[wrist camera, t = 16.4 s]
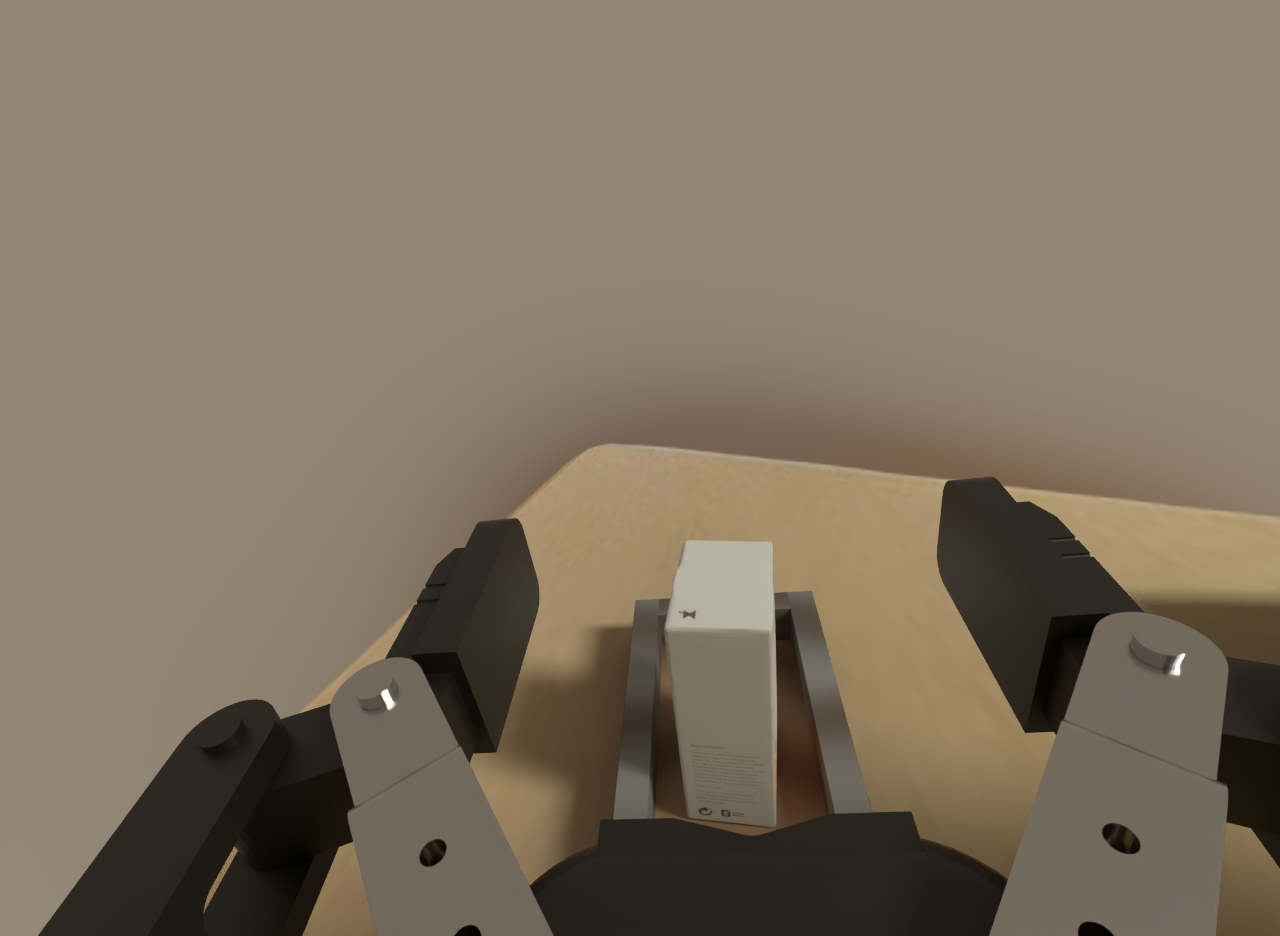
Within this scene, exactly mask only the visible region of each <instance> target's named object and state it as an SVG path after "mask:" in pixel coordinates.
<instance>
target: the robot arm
mask: <svg viewBox="0 0 1280 936" xmlns="http://www.w3.org/2000/svg"><path fill="white" fill-rule="evenodd" d="M1089 553H1090V552H1089V551H1088V550H1087V549H1086V548H1085V547H1084V546H1083V545H1082V544H1081V543H1080V542H1079V540H1075V536H1074V535H1073V534H1072V533H1071V532H1070V531H1069V530H1068V528H1067V527H1066V526H1065V525H1064V524H1063V523H1062V522H1061V521H1060V520H1059V519H1058V517H1056V516H1054V515H1053V514H1051V513H1049V512H1047V511H1045V510H1044V509H1042V508H1040V507H1038V506H1036V505H1035V504H1033V503H1031V502H1016V501H1015V500H1014V499H1013V498H1012V496H1011V495H1010V494H1009V493H1008V492H1007V491H1006V489H1005V488H1004V487H1003V486H1002V485H1001V483H1000V482H999V481H998V480H997V479H996V478H994V477H984V478H973V479H962V480H951V481H948V482H946V484H945V486H944V490H943V497H942V507H941V516H940V526H939V536H938V545H937V561H938V567H939V572H940V576H941V579H942V581H943V583H944V585H945V587H946V589H947V591H948V593H949V595H950V596H951V598H952V600H953V602H954V604H955V606H956V607H957V609H958V611H959V613H960V615H961V617H962V618H963V620H964V622H965V624H966V626H967V627H968V629H969V631H970V633H971V635H972V637H973V638H974V640H975V642H976V644H977V646H978V648H979V649H980V651H981V653H982V655H983V657H984V659H985V660H986V662H987V664H988V666H989V668H990V670H991V671H992V673H993V675H994V677H995V679H996V681H997V682H998V684H999V686H1000V688H1001V690H1002V691H1003V693H1004V695H1005V697H1006V699H1007V701H1008V702H1009V704H1010V706H1011V708H1012V710H1013V712H1014V713H1015V715H1016V717H1017V719H1018V721H1019V723H1020V724H1021V726H1022V728H1023V730H1024V732H1025V733H1033V732H1055V734H1056V738H1055V741H1054V744H1053V747H1052V750H1051V753H1050V756H1049V759H1048V762H1047V765H1046V768H1045V771H1044V774H1043V777H1042V780H1041V783H1040V786H1039V789H1038V792H1037V795H1036V798H1035V801H1034V804H1033V807H1032V810H1031V812H1030V815H1029V818H1028V821H1027V824H1026V827H1025V830H1024V833H1023V836H1022V839H1021V842H1020V845H1019V848H1018V851H1017V854H1016V857H1015V860H1014V863H1013V866H1012V869H1011V872H1010V875H1009V878H1008V879H1007V878H1005V877H1004V876H1003V875H1001V874H1000V873H998V872H997V871H995V870H994V869H992V868H990V867H989V866H987V865H985V864H983V863H982V862H980V861H978V860H977V859H975V858H973V857H971V856H968V855H966V854H964V853H962V852H960V851H958V850H955V849H953V848H950V847H947V846H944V845H942V844H939V843H936V842H933V841H929V840H925V839H921V838H920V837H919V834H918V831H917V828H916V825H915V821H914V818H913V815H912V812H875V813H837V814H829V815H825V816H822V817H818V818H815V819H812V820H808V821H805V822H802V823H798V824H795V825H791V826H788V827H785V828H781V829H778V830H775V831H771V832H768V833H764V834H761V835H754V836H750V835H744V834H739V833H735V832H731V831H727V830H723V829H718V828H714V827H710V826H706V825H702V824H697V823H693V822H689V821H685V820H680V819H676V818H650V819H612V820H601V822H600V831H599V839H598V845H597V846H594V847H591V848H588V849H585V850H583V851H581V852H579V853H576V854H574V855H572V856H570V857H568V858H566V859H565V860H563V861H561V862H560V863H558V864H556V865H555V866H553V867H552V868H551V869H549V870H548V871H547V872H545V873H544V874H543V875H541V876H540V877H539V878H538V879H537V880H535V881H534V882H533V883H532V884H531V885H530V886H529V885H528V882H527V880H526V878H525V876H524V874H523V872H522V870H521V868H520V866H519V864H518V862H517V860H516V858H515V856H514V854H513V852H512V850H511V848H510V846H509V844H508V842H507V840H506V838H505V836H504V833H503V831H502V829H501V827H500V825H499V823H498V821H497V819H496V817H495V815H494V813H493V811H492V809H491V807H490V805H489V803H488V801H487V799H486V797H485V795H484V793H483V791H482V789H481V787H480V784H479V782H478V780H477V778H476V776H475V774H474V772H473V770H472V768H471V766H470V761H471V758H472V755H473V753H494V752H497V748H498V745H499V741H500V738H501V735H502V731H503V728H504V724H505V721H506V717H507V714H508V711H509V707H510V704H511V700H512V697H513V694H514V690H515V687H516V683H517V680H518V677H519V673H520V670H521V666H522V663H523V660H524V656H525V653H526V649H527V646H528V643H529V639H530V636H531V632H532V629H533V625H534V622H535V619H536V615H537V612H538V607H539V585H538V580H537V576H536V572H535V569H534V565H533V562H532V558H531V555H530V551H529V548H528V544H527V541H526V537H525V534H524V530H523V527H522V525H521V523H520V521H519V520H518V519H517V518H513V519H502V520H491V521H481V522H479V523H478V524H477V525H476V527H475V529H474V531H473V533H472V535H471V537H470V539H469V541H468V543H467V545H466V547H465V548H456V549H454V550H453V551H452V552H451V553H449V555H447V556H446V557H445V558H444V559H443V560H442V561H441V562H440V563H439V564H437V565H436V567H435V568H434V570H433V572H432V574H431V576H430V578H429V579H428V581H427V583H426V589H423V590H422V593H421V594H420V596H419V598H418V600H417V605H414V607H413V609H412V610H411V612H410V614H409V616H408V618H407V620H406V621H405V623H404V625H403V627H402V629H401V631H400V632H399V634H398V636H397V638H396V640H395V642H394V643H393V645H392V647H391V649H390V651H389V653H388V654H387V656H386V658H385V659H383V660H380V661H377V662H374V663H372V664H370V665H368V666H366V667H364V668H362V669H360V670H359V671H357V672H356V673H355V674H353V675H352V676H351V677H350V678H348V679H347V680H346V681H345V682H344V683H343V684H342V685H341V687H340V688H339V689H338V691H337V692H336V694H335V695H334V697H333V699H332V702H331V704H328V705H325V706H322V707H319V708H315V709H312V710H309V711H306V712H303V713H299V714H296V715H293V716H290V717H287V718H284V719H280V717H279V716H278V714H277V713H276V711H275V709H274V708H273V706H272V705H271V704H269V703H268V702H266V701H263V700H247V701H242V702H238V703H235V704H232V705H230V706H227V707H225V708H223V709H221V710H219V711H217V712H215V713H214V714H212V715H210V716H209V717H207V718H206V719H205V720H203V721H202V722H200V723H199V724H198V725H197V726H196V727H194V728H193V729H192V730H191V731H190V732H189V733H188V734H187V735H186V737H185V738H184V739H183V740H182V741H181V743H180V744H179V745H178V747H177V748H176V749H175V751H174V752H173V753H172V755H171V756H170V758H169V759H168V760H167V762H166V763H165V764H164V766H163V767H162V768H161V770H160V771H159V772H158V774H157V775H156V776H155V778H154V779H153V781H152V782H151V783H150V785H149V786H148V788H147V789H146V790H145V791H144V793H143V794H142V796H141V797H140V798H139V800H138V801H137V802H136V804H135V805H134V806H133V808H132V809H131V810H130V812H129V813H128V814H127V816H126V817H125V819H124V820H123V821H122V823H121V824H120V825H119V827H118V828H117V829H116V831H115V832H114V834H113V835H112V836H111V838H110V839H109V840H108V842H107V843H106V844H105V846H104V847H103V849H102V850H101V851H100V853H99V854H98V855H97V857H96V858H95V859H94V861H93V862H92V864H91V865H90V866H89V867H88V869H87V870H86V871H85V873H84V874H83V876H82V877H81V878H80V880H79V881H78V882H77V884H76V885H75V886H74V888H73V889H72V890H71V892H70V893H69V895H68V896H67V897H66V899H65V900H64V901H63V903H62V904H61V906H60V907H59V908H58V909H57V911H56V912H55V914H54V915H53V916H52V918H51V919H50V920H49V922H48V923H47V924H46V926H45V927H44V929H43V930H42V931H41V933H40V934H39V935H38V936H302V935H303V932H304V930H305V928H306V925H307V923H308V920H309V918H310V915H311V913H312V911H313V908H314V906H315V903H316V901H317V899H318V896H319V894H320V891H321V889H322V887H323V884H324V882H325V879H326V877H327V874H328V872H329V870H330V867H331V865H332V862H333V860H334V858H335V855H336V853H337V850H338V848H339V847H340V846H343V845H345V844H348V843H351V842H354V846H355V850H356V854H357V858H358V862H359V866H360V870H361V874H362V878H363V882H364V886H365V890H366V894H367V898H368V902H369V906H370V910H371V914H372V918H373V922H374V926H375V930H376V934H377V936H1216V928H1217V917H1218V906H1219V895H1220V884H1221V873H1222V863H1223V852H1224V841H1225V830H1226V822H1228V823H1232V824H1236V825H1240V826H1245V827H1249V828H1251V829H1252V830H1253V832H1254V833H1255V834H1256V836H1257V837H1258V839H1259V840H1260V841H1261V843H1262V844H1263V845H1264V847H1265V848H1266V850H1267V851H1268V852H1269V854H1270V855H1271V857H1272V858H1273V859H1274V861H1275V862H1276V864H1277V865H1278V866H1279V868H1280V666H1278V665H1272V664H1265V663H1259V662H1253V661H1246V660H1240V659H1235V658H1230V657H1225V656H1224V655H1223V653H1222V652H1221V650H1220V649H1219V648H1218V647H1217V646H1216V645H1215V644H1214V643H1213V642H1212V641H1211V640H1209V639H1208V638H1207V637H1206V636H1204V635H1203V634H1201V633H1200V632H1198V631H1196V630H1194V629H1193V628H1191V627H1189V626H1187V625H1185V624H1182V623H1180V622H1178V621H1175V620H1172V619H1169V618H1166V617H1163V616H1159V615H1155V614H1149V613H1144V611H1143V610H1142V609H1141V608H1140V607H1139V606H1138V605H1137V604H1136V603H1135V602H1134V600H1133V599H1132V598H1131V597H1130V596H1129V595H1128V594H1127V593H1126V592H1125V591H1124V590H1123V588H1122V587H1121V586H1120V585H1119V584H1118V583H1117V582H1116V581H1115V580H1114V579H1113V578H1112V576H1111V575H1110V574H1109V573H1108V572H1107V571H1106V570H1105V569H1104V568H1103V567H1102V566H1101V564H1100V563H1099V562H1098V561H1097V560H1096V559H1095V558H1094V557H1090V554H1089ZM234 846H235V848H236V849H237V850H238V852H237V854H236V855H235V857H234V859H233V861H232V863H231V864H230V866H229V868H228V870H227V872H226V874H225V875H224V877H223V879H222V881H221V883H220V884H219V886H218V888H217V890H216V892H215V894H214V895H213V897H212V899H211V901H210V903H209V904H208V906H207V908H206V910H205V912H204V914H203V911H204V905H205V902H206V898H207V896H208V893H209V891H210V889H211V887H212V885H213V883H214V881H215V880H216V878H217V876H218V874H219V872H220V871H221V869H222V867H223V865H224V864H225V862H226V860H227V858H228V856H229V855H230V853H231V851H232V849H233V847H234Z"/></svg>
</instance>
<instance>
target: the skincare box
mask: <svg viewBox="0 0 1280 936" xmlns="http://www.w3.org/2000/svg"><path fill="white" fill-rule="evenodd" d="M664 633H665V644H666V653H667V662H668V668H669V674H670V683H671V690H672V699H673V707H674V714H675V722H676V730H677V737H678V746H679V754H680V763H681V770H682V779H683V787H684V794H685V802H686V811H687V816H688V817H689V818H693V819H701V820H710V821H720V822H729V823H739V824H747V825H755V826H763V827H775V826H776V791H777V682H776V635H775V602H774V573H773V547H772V543H771V542H757V541H701V540H686V541H685V542H684V543H683V547H682V551H681V556H680V560H679V564H678V568H677V571H676V574H675V577H674V580H673V588H672V593H671V598H670V603H669V608H668V613H667V618H666V622H665V627H664Z"/></svg>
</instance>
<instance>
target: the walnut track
mask: <svg viewBox="0 0 1280 936" xmlns="http://www.w3.org/2000/svg"><path fill="white" fill-rule="evenodd" d="M774 602H775V635H776V682H777V791H776V826H775V827H763V826H755V825H747V824H739V823H729V822H720V821H710V820H701V819H693V818H689V817H688V816H687V811H686V802H685V794H684V787H683V779H682V770H681V763H680V754H679V746H678V737H677V730H676V722H675V714H674V707H673V699H672V690H671V683H670V674H669V668H668V662H667V653H666V644H665V633H664V627H665V622H666V618H667V613H668V608H669V603H670V599H653V600H636V601H635V611H634V620H633V630H632V640H631V649H630V659H629V669H628V678H627V688H626V698H625V707H624V717H623V727H622V736H621V746H620V756H619V765H618V775H617V785H616V794H615V804H614V814H613V819H650V818H676V819H680V820H685V821H689V822H693V823H697V824H702V825H706V826H710V827H714V828H718V829H723V830H727V831H731V832H735V833H739V834H744V835H750V836H754V835H761V834H764V833H768V832H771V831H775V830H778V829H781V828H785V827H788V826H791V825H795V824H798V823H802V822H805V821H808V820H812V819H815V818H818V817H822V816H825V815H829V814H837V813H872V811H871V808H870V804H869V800H868V797H867V793H866V789H865V786H864V782H863V778H862V775H861V771H860V767H859V763H858V760H857V756H856V752H855V749H854V745H853V741H852V738H851V734H850V730H849V727H848V723H847V719H846V716H845V712H844V708H843V704H842V701H841V697H840V693H839V690H838V686H837V682H836V679H835V675H834V671H833V668H832V664H831V660H830V657H829V653H828V649H827V645H826V642H825V638H824V634H823V631H822V627H821V623H820V620H819V616H818V612H817V609H816V605H815V601H814V597H813V594H812V591H802V592H783V593H774Z"/></svg>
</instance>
